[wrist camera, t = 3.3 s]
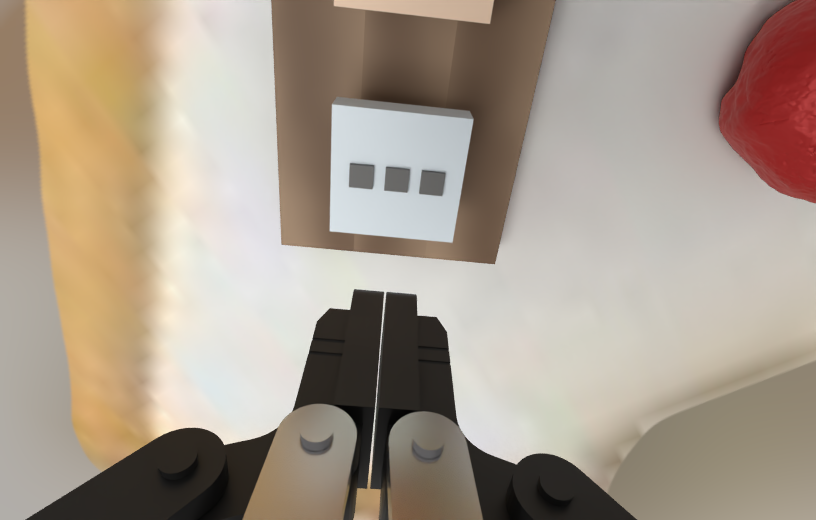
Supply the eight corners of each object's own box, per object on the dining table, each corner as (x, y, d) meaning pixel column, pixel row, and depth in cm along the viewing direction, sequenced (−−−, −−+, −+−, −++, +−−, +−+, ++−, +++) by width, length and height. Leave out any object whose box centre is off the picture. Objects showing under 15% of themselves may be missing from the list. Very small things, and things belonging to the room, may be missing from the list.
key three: (464, 97, 22) (474, 120, 18) (447, 206, 25) (452, 244, 21) (344, 84, 22) (331, 105, 18) (341, 196, 25) (328, 233, 21)
